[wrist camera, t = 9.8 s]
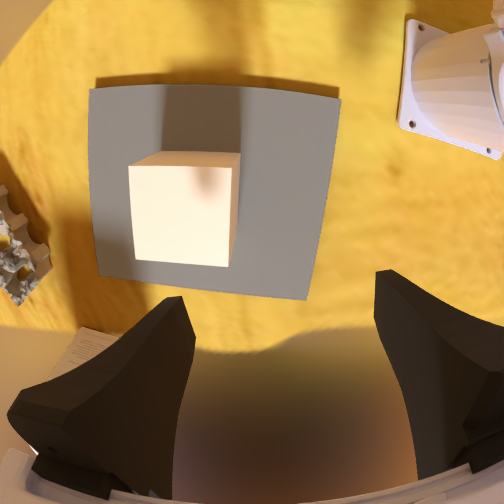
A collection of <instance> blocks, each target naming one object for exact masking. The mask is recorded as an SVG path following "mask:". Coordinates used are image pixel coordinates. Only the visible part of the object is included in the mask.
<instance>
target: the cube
mask: <svg viewBox="0 0 504 504" xmlns="http://www.w3.org/2000/svg"><path fill="white" fill-rule="evenodd" d="M240 160H241V153H230V152H203V151H160V152H158V153H155V154H153V155H151V156H149V157H147V158H144V159H142V160H140V161H138V162H136V163H134V164H132V165H129V188H130V204H131V217H132V228H133V239H134V248H135V257H136V259H138V260H149V261H161V262H172V263H184V264H197V265H209V266H222V267H228V266H229V262H230V258H231V253H232V249H233V245H234V241H235V237H236V233H237V222H238V200H239V179H240Z"/></svg>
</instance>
